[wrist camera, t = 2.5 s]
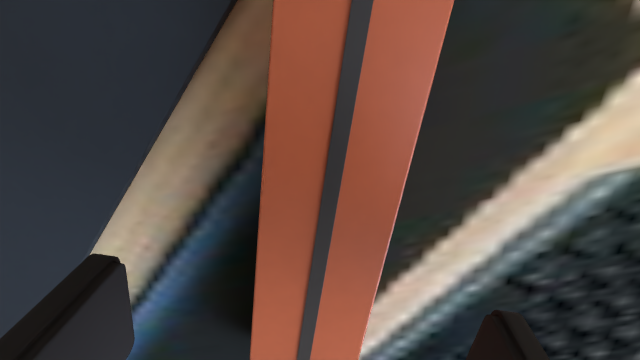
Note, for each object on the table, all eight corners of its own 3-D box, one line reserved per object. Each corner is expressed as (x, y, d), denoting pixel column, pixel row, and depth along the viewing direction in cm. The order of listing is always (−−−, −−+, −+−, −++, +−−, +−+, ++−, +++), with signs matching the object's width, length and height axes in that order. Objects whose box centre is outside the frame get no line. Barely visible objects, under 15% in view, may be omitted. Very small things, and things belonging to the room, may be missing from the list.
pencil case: (302, -83, 11) (280, -133, 7) (436, -64, 11) (483, -104, 7) (264, 341, 19) (245, 420, 15) (340, 352, 19) (339, 434, 15)
